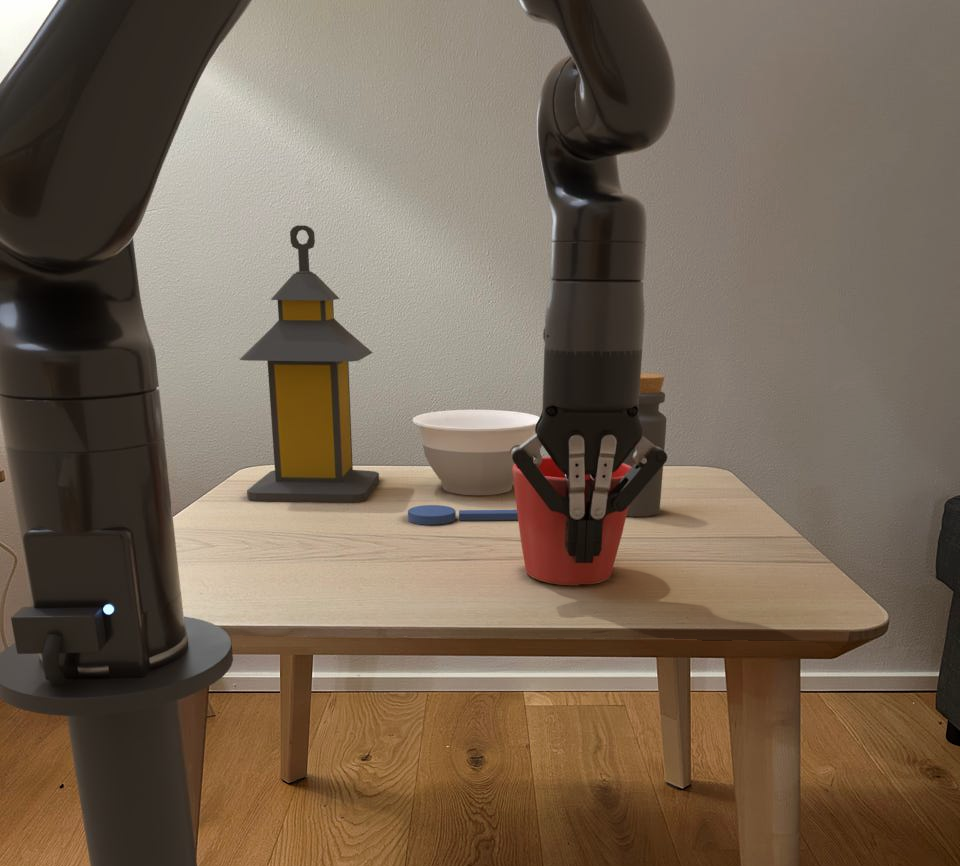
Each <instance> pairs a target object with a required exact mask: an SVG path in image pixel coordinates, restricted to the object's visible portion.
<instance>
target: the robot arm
mask: <svg viewBox="0 0 960 866" xmlns="http://www.w3.org/2000/svg"><path fill="white" fill-rule="evenodd" d="M252 1H253V0H57V1H56V3H55V4H54V5H53V7H52V8H51V10H50V11H49V13H48V14H47V16H46V17H45V19H44V20H43V22H42V23H41V25H40V26H39V28H38V30H37V31H36V32H35V34H34V36H32V38H31V40H30V41H29V43H28V44H27V46H26V47H25V48H24V50H23V51H22V53H21V54H20V56H19V57H18V58H17V59H16V61H15V62H14V64H13V65H12V67H10V69H9V71H8V72H6V74H5V76H4V77H3V78H2V80H1V82H0V425H1V431H2V436H3V441H4V443H3V444H4V450H5V455H6V461H7V468H8V474H9V480H10V485H11V492H12V497H13V504H14V509H15V516H16V521H17V529H18V533H19V540H20V545H21V550H22V551H21V552H22V557H23V564H24V569H25V574H26V580H27V588H28V594H29V598H30V599H29V600H30V603H31V604H30V605H31V606H22V607H21V608H19V610H17V611H16V612H15V613H14V614H13V615H12V616H11V617H10V620H11V626H12V632H13V638H14V643H15V644H16V650H17V654H38V656H39V662H40V665H41V666H42V667H43V669H44V673H45V679H48V680H49V681H50V683H51V684H52V685H53V686H56V687H58V686H61V685H63V684H64V683H65V679H106V678H143V677H146V676H147V674H148V673H149V672H150V671H151V670H153V669H156V668H158V667H161V666H164V665H166V664H168V663H170V662H172V661H174V660H176V659H177V658H179V657H180V656H181V655H183V654H184V653H185V651H186V650H187V648H188V637H187V630H186V628H185V624H184V617H185V616H184V606H183V597H182V589H181V580H180V570H179V562H178V561H179V560H178V552H177V543H176V534H175V525H174V515H173V507H172V506H173V505H172V497H171V488H170V478H169V469H168V461H167V460H168V459H167V451H166V442H165V431H164V420H163V414H162V412H163V411H162V403H161V393H160V389H159V385H160V384H159V375H158V374H159V373H158V366H157V365H158V364H157V356H156V351H155V345H154V344H153V341H152V338H151V336H150V333H149V330H148V325H147V322H146V318H145V314H144V309H143V304H142V299H141V291H140V284H139V277H138V275H139V274H138V268H137V259H136V252H135V244H134V236H135V235H136V234H137V232H138V231H139V228H140V226H141V224H142V222H143V219H144V216H145V214H146V211H147V209H148V206H149V203H150V201H151V198H152V196H153V192H154V190H155V189H156V188H155V187H156V186H157V182H158V180H159V177H160V174H161V171H162V169H163V166H164V164H165V161H166V158H167V156H168V153H169V151H170V149H171V147H172V144H173V141H174V140H175V137H176V134H177V132H178V130H179V128H180V125H181V123H182V120H183V118H184V115H185V113H186V112H187V111H186V110H187V108H188V106H189V104H190V101H191V99H192V96H193V94H194V92H195V89H196V88H197V86H198V84H199V82H200V80H201V78H202V76H203V74H204V72H205V71H206V69H207V67H208V65H209V63H210V61H211V60H212V58H213V57H214V55H216V52H217V51H218V49H219V48H220V46H221V45H222V43H223V42H224V41H225V40H226V38H227V36H228V35H229V34H230V32H231V31H232V30H233V28H234V27H235V26H236V24H237V23H238V22H239V20H240V18H241V17H242V16H243V15H244V13H245V11H246V10H247V9H248V7H249V6H250V4H251V3H252ZM518 2H519V4H520V7H521V9H522V10H523V12H524V14H525V15H526V17H528V18H529V19H530V20H532V21H534V22H536V23H540V24H546V25H551V26H552V27H553V28H554V29H556V30H557V32H558V33H559V35H560V38H561V39H562V41H563V43H564V45H565V46H566V49H567V50H568V53H569V54H568V55H565V56H564V57H563V58H561V59H560V60H558V61H557V62H556V63H555V64H554V65H553V67H552V68H551V69H550V70H549V72H548V73H547V75H546V77H545V80H544V81H543V84H542V87H541V91H540V94H539V99H538V104H537V109H536V111H537V112H536V137H537V139H536V140H537V146H538V152H539V159H540V165H541V171H542V177H543V182H544V188H545V193H546V198H547V202H548V203H547V204H548V207H549V211H550V217H551V237H550V239H551V240H550V241H551V243H550V269H549V272H550V273H549V274H550V275H549V279H550V281H549V287H548V294H547V299H546V307H545V318H544V328H543V332H542V333H543V335H542V336H543V337H542V338H543V342H544V344H543V345H544V346H543V352H544V353H543V375H542V376H543V377H542V378H543V379H542V407H541V408H542V409H541V413H540V416H539V417H540V418H539V420H538V422H537V424H536V427H535V431H534V435H533V436H532V437H530V438H529V439H528V440H527V441H525V442H524V443H523V444H521V445H515V446H513V447H512V448H511V450H510V455H511V457H512V459H513V461H514V463H515V464H516V466H517V467H518V468H519V469H520V471H521V472H522V473H523V475H524V476H525V477H526V479H527V480H528V481H529V483H530V484H531V485H532V487H533V488H534V489H535V491H536V492H537V493H538V495H539V496H540V497H541V498H542V500H543V501H544V502H545V504H546V505H547V506H548V508H549V509H550V510H551V511H553V512H559V513H562V514H564V515H565V516H566V535H565V547H566V550H567V552H568V554H569V556H572V557H573V560H574V562H575V563H593V558H594V556H599V554H600V552H601V549H602V531H603V520H604V518H605V517H606V516H607V515H608V514H610V513H613V512H615V511H618V512H622V511H624V510H625V509H626V508H627V507H628V506H629V505H630V504H631V502H632V501H633V500H634V499H635V498H636V496H637V495H638V494H639V493H640V492H641V491H642V489H643V488H644V487H645V486H646V485H647V483H648V482H649V481H650V480H651V479H652V478H653V476H654V475H655V474H656V473H657V472H658V470H659V469H660V468H661V467H662V466H663V467H664V465H665V463H666V462H667V460H668V455H667V452H666V451H665V450H664V451H663V450H662V449H661V448H659V447H657V446H655V445H653V444H652V443H651V442H650V441H649V440H647V439H646V438H645V437H644V436H643V425H642V423H641V421H640V419H639V414H638V407H639V392H640V377H641V373H642V360H643V346H644V345H643V344H644V329H645V299H644V298H645V297H644V282H643V281H644V279H645V278H644V277H645V263H646V249H647V248H646V246H647V244H646V242H647V212H646V208H645V206H644V204H643V203H642V202H641V200H639V199H638V198H636V197H634V196H632V195H630V194H626V193H624V192H623V191H622V186H621V181H620V173H619V167H618V156H620V155H628V154H633V153H638V152H640V151H643V150H646V149H649V147H652V146H653V145H654V144H655V143H657V142H658V141H659V140H660V139H661V138H662V137H663V136H664V134H665V132H666V131H667V129H668V127H669V126H670V123H671V120H672V118H673V115H674V110H675V103H676V79H675V70H674V66H673V61H672V58H671V55H670V53H669V50H668V49H669V48H668V46H667V43H666V42H665V40H664V38H663V35H662V33H661V32H660V30H659V26H658V25H657V23H656V22H655V20H654V17H653V16H652V14H651V12H650V10H649V8H648V7H647V5H646V2H645V1H644V0H518ZM542 447H543V449H544V450H545V452H546V453H547V454H548V457H551V458H552V460H553V461H554V463H555V464H556V466H557V467H558V469H559V470H560V471H561V472H563V473H564V478H565V495H566V496H564V495H561V494H558V493H557V492H556V491H555V489H554V488H553V487H552V485H551V484H550V483H549V481H548V480H547V479H546V477H545V476H544V475H543V473H542V472H541V471H540V469H539V468H538V466H539V465H540V464H541V463H542V458H543V456H542V455H541V448H542ZM635 447H636V450H635V453H634V454H633V457H632V459H633V462H634V463H635V464H634V465H633V466H632V467H631V468H630V470H629V471H628V472H627V473H626V474H625V476H624V477H623V478H622V479H621V480H620V482H619V483H618V484H617V485H616V486H615V487H614V489H613V490H612V491H611V492H610V493H609V494H608V492H609V490H610V484H611V476H612V473H614V472H615V471H616V470H617V469H618V468H619V467H620V466H621V464H622V463H623V462H624V461H625V459H626V458H627V457H628V455H629V454H630V453H631V452H632V450H633V449H634V448H635ZM588 474H589V476H588V479H590V484H589V491H588V498H587V504H586V514H585V504H584V491H585V475H588Z"/></svg>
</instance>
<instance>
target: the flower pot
mask: <svg viewBox="0 0 960 866" xmlns="http://www.w3.org/2000/svg"><path fill="white" fill-rule="evenodd" d="M538 468H539V469H540V471H541V472H542V473H543V475H544V476H545V477H546V479H547V480H548V481H549V483H550V484H551V485H552V487H553V488H554V489H555V491H556V492H557V493H558V494H561V495H564V496H566V495H565V478H564V473H563V472H561V471H560V470H559V469H558V467H557V466H556V464H555V463H554V461H553V460H552V458H551V457H550V456H547V457H546V456H545V457H542V463H541V464H540V465H539V466H538ZM630 468H631V466H629V465H627V464H624V463H622V464H621V466H620V467H619V468H618V469H617V470H616V471H615V472H614V473H612V476H611V484H610V490H609V492H608V494H609V493H610V492H611V491H612V490H613V489H614V487H615V486H616V485H617V484H618V483H619V482H620V480H621V479H622V478H623V477H624V476H625V474H626V473H627V472H628V471H629V470H630ZM512 470H513V480H514V482H513V488H514V496H515V497H514V498H515V505H516V510H517V515H518V520H517V521H518V529H519V537H520V543H521V551H522V556H523V560H524V561H523V562H524V568H525V572H526V573H527V575H528V576H530V578H533V579H536V580H537V581H541V582H545V583H549V584H552V585H553V584H554V585H560V586H561V585H563V586H579V585H582V584H583V585H595V584H599V583H602V582H605V581H606V580H608V579H609V578H610V577H611V576H612V573H613V569H614V565H615V562H616V559H617V554H618V550H619V546H620V543H621V540H622V535H623V532H624V527H625V523H626V520H627V516H626V515H627V511H628V507H629V506H628V507H627V508H626V509H625V510H624V511H622V512H618V511H615V512H613V513H610V514H608V515H607V516H606V517H605V518H604V520H603V531H602V549H601V552H600V554H599V556H594V558H593V563H575V562H574V560H573V557H572V556H569V554H568V552H567V550H566V547H565V535H566V516H565V515H564V514H562V513H559V512H553V511H551V510H550V509H549V508H548V506H547V505H546V504H545V502H544V501H543V500H542V498H541V497H540V496H539V495H538V493H537V492H536V491H535V489H534V488H533V487H532V485H531V484H530V483H529V481H528V480H527V479H526V477H525V476H524V475H523V473H522V472H521V471H520V469H519V468H518V467H517V466H516V464H514V465H513V467H512ZM588 476H589V474H588V475H585V491H584V504H585V514H586V504H587V498H588V491H589V484H590V479H588Z"/></svg>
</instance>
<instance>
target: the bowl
mask: <svg viewBox="0 0 960 866" xmlns="http://www.w3.org/2000/svg"><path fill="white" fill-rule="evenodd" d="M539 418H540V416H539V415H535V414H532V413H527V412H520V411H514V410H513V411H511V410H500V409H499V410H498V409H496V410H495V409H454V410H453V409H450V410H438V411H431V412H425V413H422V414H418V415H416V416H413V418H412V421H411V422H412V423H413V424H414V425H416V426H417V427H418V428H419V430H420V437H421V438H420V440H421V444H422V449H423V453H424V457H425V458H426V460H427V462H428V464H429V466H430V468H431V469H432V471H433V472H434V473H435V475H436V476H437V478H438V479H439V481H440V482H441V486H442V489H443V491H445V492H447V493H451V494H455V495H464V496H494V495H499V494H504V493H508V492H510V491H512V489H513V485H514V480H513V470H512V467H513V465H514V464H515V463H514V461H513V459H512V457H511V455H510V450H511V448H512V447H513V446H515V445H521V444H523V443H524V442H525V441H527V440H528V439H529V438H530V437H532V436H533V435H534V434H535V427H536V424H537V422H538V420H539Z"/></svg>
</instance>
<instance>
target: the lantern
mask: <svg viewBox="0 0 960 866" xmlns="http://www.w3.org/2000/svg"><path fill="white" fill-rule="evenodd" d="M301 231H304V232H306V235H307V236H308V238H307V240H306V242H305V243H300V242H299V240H298V235H299V232H301ZM289 235H290V237H289V239H290V244H291V247H292V248H294V249H297V255H298V257H297V258H298V271H295V273H293V274H292V275H291V276H290V277H289V278H288V279H287V280H286V281H285V283H284V284H283V285H282V286H281V287H280V288H279V289H278V291H277V292H276V293H275V294H274V295H273V296H272V297H271V298H270V301H277V313H278V320H277V322H275V324H273V326H272V327H271V328H270V329H269V330H268V331H267V332H266V333H265V334H263V336H262V337H260V339H258V340H257V341H256V342H255V343H254V344H253V345H252V347H250V348H249V349H248V350H247V351H246V352H245V353H244V354H243V355H242V356H241V357H240V358H239V361H248V362H249V361H251V362H252V361H254V362H256V361H257V362H258V361H259V362H261V361H263V362H267V375H268V388H269V390H268V391H269V404H270V405H269V406H270V419H271V434H272V449H273V461H274V470H271V471H269V472H268V473H267V474H265V475H264V476H263V477H262V478H261V479H259V480H257V482H255V483H254V484H253V485H252V486H251V487H249V488H248V489H247V490H246V496H247V497H246V498H247V499H248V500H249V501H253V502H294V503H295V502H297V503H298V502H301V503H303V502H304V503H305V502H306V503H361V502H365V501H366V500H367V499H368V497H369V496H370V494H371V493H372V491H373V490H374V489H375V487H376V486H377V484H378V483H379V481H380V472H378V471H375V470H363V469H362V470H361V469H354V465H353V463H354V462H353V442H352V441H353V440H352V417H351V416H352V415H351V390H350V389H351V388H350V365H349V362H359V361H361V360H362V359H364V358H367V357H368V356H371V354H373V351H372V350H370V349H369V348H368V347H367V346H366V345H365V344H364V343H362V342H361V341H360V340H359V339H357V338H356V336H354V335H353V334H352V333H351V332H349V331H348V330H347V329H346V328H345V327H344V326H343V325H342V324H341V323H340V322H339V321H338V320H336V318H335V310H334V301H336V300H340V297H339V296H338V295H337V294H336V293H335V292H334V290H332V289H331V288H330V287H329V286H328V285H327V284H326V283H325V282H324V281H323V280H322V278H320V277H319V276H318V275H317V274H316V273H314V272H313V271H310V259H309V258H310V256H309V250H311V249H313V248H315V245H316V238H315V235H316V234H315V231H314V229H313V228H312V227H310V226H308V225H299V224H298V225H295V226H292V228H291V229H290V231H289Z"/></svg>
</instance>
